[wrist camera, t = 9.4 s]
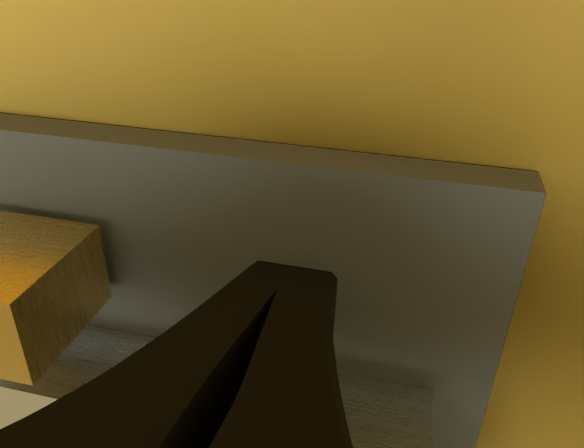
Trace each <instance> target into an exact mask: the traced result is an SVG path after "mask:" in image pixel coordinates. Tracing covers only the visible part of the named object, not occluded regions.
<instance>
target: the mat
mask: <svg viewBox="0 0 584 448" xmlns="http://www.w3.org/2000/svg"><path fill="white" fill-rule="evenodd" d="M545 195H546V192H545V189H544V186H543V184H542V181H541V178H540V176H539V173H538V172H536V171H527V170H517V169H508V168H499V167H490V166H481V165H472V164H463V163H453V162H444V161H435V160H426V159H417V158H408V157H399V156H389V155H380V154H371V153H362V152H353V151H344V150H335V149H325V148H316V147H307V146H298V145H289V144H280V143H270V142H261V141H252V140H243V139H234V138H225V137H216V136H206V135H197V134H188V133H179V132H170V131H161V130H152V129H142V128H133V127H124V126H115V125H106V124H97V123H88V122H78V121H69V120H60V119H51V118H42V117H33V116H24V115H14V114H5V113H0V210H1V211H8V212H15V213H21V214H28V215H35V216H41V217H48V218H55V219H62V220H68V221H75V222H82V223H88V224H95V225H99V226H100V232H101V238H102V244H103V249H104V255H105V261H106V267H107V272H108V278H109V284H110V290H111V296H112V297H111V298H110V299H109V300H108V301H107V302H106V304H105V305H104V306H103V307H102V308H101V309H100V310H99V312H98V313H97V314H96V315H95V316H94V317H93V318H92V320H91V321H90V322H89V324H94V325H99V326H105V327H110V328H115V329H121V330H126V331H131V332H136V333H142V334H147V335H152V336H159V335H161V334H162V333H164V332H165V331H166V330H168V329H169V328H170V327H172V326H173V325H174V324H176V323H177V322H178V321H180V320H181V319H182V318H184V317H185V316H186V315H188V314H189V313H190V312H192V311H193V310H194V309H196V308H197V307H198V306H200V305H201V304H202V303H204V302H205V301H206V300H207V299H209V298H210V297H211V296H213V295H214V294H215V293H216V292H218V291H219V290H220V289H221V288H223V287H224V286H225V285H226V284H228V283H229V282H230V281H231V280H233V279H234V278H235V277H236V276H238V275H239V274H240V273H242V272H243V271H244V270H245V269H247V268H248V267H249V266H251V265H252V264H253V263H255V262H256V261H258V260H259V261H265V262H272V263H278V264H285V265H291V266H298V267H304V268H311V269H317V270H324V271H331V272H332V273H333V274H334V275H335V276H336V278H337V279H338V281H337V294H336V308H335V321H334V334H333V342H334V350H335V358H336V366H337V370H338V371H343V372H349V373H354V374H359V375H364V376H370V377H375V378H380V379H386V380H391V381H396V382H402V383H407V384H412V385H418V386H423V387H428V388H433V408H432V448H475V446H476V442H477V438H478V435H479V431H480V428H481V424H482V421H483V417H484V413H485V410H486V406H487V403H488V399H489V396H490V392H491V388H492V385H493V381H494V378H495V374H496V371H497V367H498V363H499V360H500V356H501V353H502V349H503V345H504V342H505V338H506V335H507V331H508V328H509V324H510V320H511V317H512V313H513V310H514V306H515V303H516V299H517V295H518V292H519V288H520V285H521V281H522V278H523V274H524V270H525V267H526V263H527V260H528V256H529V253H530V249H531V245H532V242H533V238H534V235H535V231H536V228H537V224H538V220H539V217H540V213H541V210H542V206H543V202H544V199H545Z"/></svg>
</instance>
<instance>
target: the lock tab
mask: <svg viewBox="0 0 584 448" xmlns="http://www.w3.org/2000/svg"><path fill="white" fill-rule="evenodd" d="M111 297H112V296H111V290H110V284H109V278H108V272H107V267H106V261H105V255H104V249H103V244H102V238H101V232H100V226H99V225H95V224H88V223H82V222H75V221H68V220H62V219H55V218H48V217H41V216H35V215H28V214H21V213H15V212H8V211H1V210H0V379H4V380H9V381H13V382H18V383H22V384H27V385H31V386H33V385H34V384H35V383H36V382H37V381H38V380H39V378H40V377H41V376H42V375H43V374H44V373H45V372H46V371H47V369H48V368H49V367H50V366H51V365H52V364H53V363H54V361H55V360H56V359H57V358H58V357H59V356H60V355H61V354H62V352H63V351H64V350H65V349H66V348H67V347H68V346H69V344H70V343H71V342H72V341H73V340H74V339H75V338H76V337H77V335H78V334H79V333H80V332H81V331H82V330H83V329H84V327H85V326H86V325H87V324H88V323H89V322H90V321H91V320H92V318H93V317H94V316H95V315H96V314H97V313H98V312H99V310H100V309H101V308H102V307H103V306H104V305H105V304H106V302H107V301H108V300H109V299H110V298H111Z"/></svg>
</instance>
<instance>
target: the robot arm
mask: <svg viewBox="0 0 584 448" xmlns="http://www.w3.org/2000/svg"><path fill="white" fill-rule="evenodd" d="M337 281H338V279H337V278H336V276H335V275H334V274H333V273H332V272H331V271H324V270H317V269H311V268H304V267H298V266H291V265H285V264H278V263H272V262H265V261H259V260H258V261H256V262H255V263H253V264H252V265H251V266H249V267H248V268H247V269H245V270H244V271H243V272H242V273H240V274H239V275H238V276H236V277H235V278H234V279H233V280H231V281H230V282H229V283H228V284H226V285H225V286H224V287H223V288H221V289H220V290H219V291H218V292H216V293H215V294H214V295H213V296H211V297H210V298H209V299H207V300H206V301H205V302H204V303H202V304H201V305H200V306H198V307H197V308H196V309H194V310H193V311H192V312H190V313H189V314H188V315H186V316H185V317H184V318H182V319H181V320H180V321H178V322H177V323H176V324H174V325H173V326H172V327H170V328H169V329H168V330H166V331H165V332H164V333H162V334H161V335H159V336H158V337H157V338H155V339H154V340H152V341H151V342H149V343H148V344H146V345H145V346H143V347H142V348H140V349H139V350H137V351H136V352H134V353H133V354H131V355H130V356H128V357H127V358H125V359H124V360H123V361H121V362H120V363H118V364H117V365H115V366H114V367H112V368H110V369H109V370H107V371H106V372H104V373H102V374H101V375H99V376H97V377H96V378H94V379H92V380H91V381H89V382H87V383H86V384H84V385H82V386H81V387H79V388H77V389H75V390H74V391H72V392H70V393H68V394H66V395H65V396H63V397H61V398H59V399H58V400H56V401H54V402H52V403H50V404H49V405H47V406H45V407H43V408H41V409H40V410H38V411H36V412H34V413H32V414H30V415H28V416H26V417H24V418H22V419H20V420H18V421H16V422H14V423H12V424H10V425H8V426H6V427H4V428H2V429H0V448H353V445H352V441H351V437H350V433H349V429H348V424H347V420H346V415H345V410H344V406H343V401H342V396H341V391H340V385H339V379H338V373H337V366H336V358H335V350H334V342H333V334H334V321H335V308H336V294H337Z"/></svg>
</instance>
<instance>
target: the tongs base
mask: <svg viewBox="0 0 584 448" xmlns="http://www.w3.org/2000/svg"><path fill="white" fill-rule="evenodd" d="M157 337H158V336H152V335H147V334H142V333H136V332H131V331H126V330H121V329H115V328H110V327H105V326H99V325H94V324H89V323H88V324H87V325H86V326H85V327H84V329H83V330H82V331H81V332H80V333H79V334H78V335H77V337H76V338H75V339H74V340H73V341H72V342H71V343H70V344H69V346H68V347H67V348H66V349H65V350H64V351H63V352H62V354H61V355H60V356H59V357H58V358H57V359H56V360H55V361H54V363H53V364H52V365H51V366H50V367H49V368H48V369H47V371H46V372H45V373H44V374H43V375H42V376H41V377H40V378H39V380H38V381H37V382H36V383H35V384H34V385H33V386H31V385H27V384H22V383H18V382H13V381H9V380H4V379H0V429H2V428H4V427H6V426H8V425H10V424H12V423H14V422H16V421H18V420H20V419H22V418H24V417H26V416H28V415H30V414H32V413H34V412H36V411H38V410H40V409H41V408H43V407H45V406H47V405H49V404H50V403H52V402H54V401H56V400H58V399H59V398H61V397H63V396H65V395H66V394H68V393H70V392H72V391H74V390H75V389H77V388H79V387H81V386H82V385H84V384H86V383H87V382H89V381H91V380H92V379H94V378H96V377H97V376H99V375H101V374H102V373H104V372H106V371H107V370H109V369H110V368H112V367H114V366H115V365H117V364H118V363H120V362H121V361H123V360H124V359H125V358H127V357H128V356H130V355H131V354H133V353H134V352H136V351H137V350H139V349H140V348H142V347H143V346H145V345H146V344H148V343H149V342H151V341H152V340H154V339H155V338H157ZM337 373H338V379H339V385H340V391H341V396H342V401H343V406H344V410H345V415H346V420H347V424H348V429H349V433H350V437H351V441H352V445H353V448H432V408H433V388H428V387H423V386H418V385H412V384H407V383H402V382H396V381H391V380H386V379H380V378H375V377H370V376H364V375H359V374H354V373H349V372H343V371H338V370H337Z"/></svg>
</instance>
